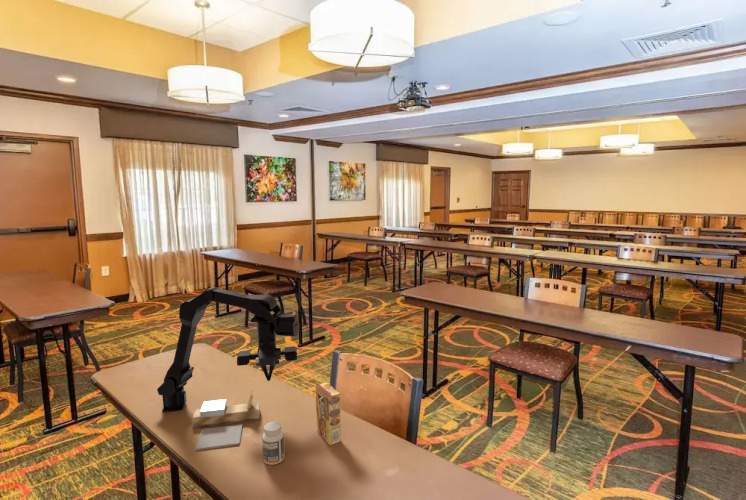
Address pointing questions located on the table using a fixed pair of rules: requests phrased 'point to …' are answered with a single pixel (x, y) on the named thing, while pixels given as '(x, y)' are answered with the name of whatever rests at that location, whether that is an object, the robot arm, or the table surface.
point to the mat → (219, 437)
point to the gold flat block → (250, 399)
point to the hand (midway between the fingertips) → (268, 380)
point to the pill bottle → (273, 443)
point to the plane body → (228, 416)
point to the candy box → (328, 413)
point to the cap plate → (213, 408)
